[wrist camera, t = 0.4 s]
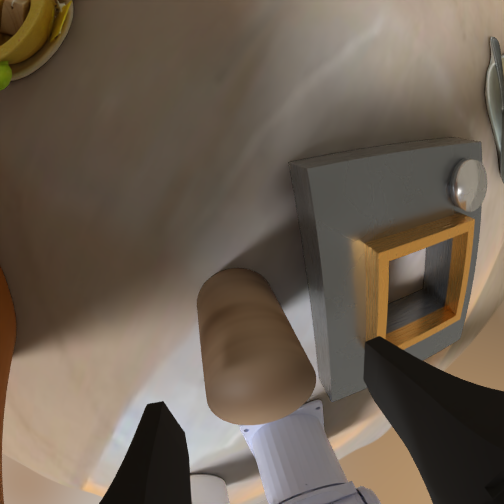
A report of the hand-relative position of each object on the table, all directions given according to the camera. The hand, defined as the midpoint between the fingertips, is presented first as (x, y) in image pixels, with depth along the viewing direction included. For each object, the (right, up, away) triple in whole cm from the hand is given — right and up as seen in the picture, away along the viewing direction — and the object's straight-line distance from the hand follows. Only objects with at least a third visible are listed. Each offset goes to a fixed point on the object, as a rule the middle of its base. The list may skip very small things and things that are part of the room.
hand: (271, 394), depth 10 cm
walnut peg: (-2, +2, +10) cm, 10 cm away
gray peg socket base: (+10, +4, +12) cm, 16 cm away
